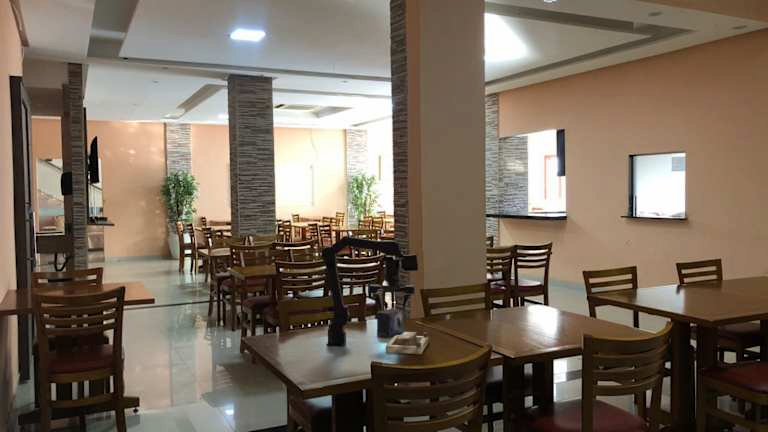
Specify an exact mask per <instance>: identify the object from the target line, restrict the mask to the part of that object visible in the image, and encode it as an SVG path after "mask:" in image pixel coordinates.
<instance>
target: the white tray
mask: <svg viewBox="0 0 768 432" xmlns="http://www.w3.org/2000/svg"><path fill="white" fill-rule="evenodd" d="M428 333H429V332H426V331H425V332H423V335H416V345H415V346H402V345H398V343H397V338H398V337H399V336H400V335H395V336H393V337H392V338H391V340H389V342H387V344H386V346H385V353H386V354H390V353H392V354H395V353H396V354H414V355H423V352H424V350H425V349H426V348H427V346H428V344H429V336H428Z"/></svg>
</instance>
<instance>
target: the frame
mask: <svg viewBox="0 0 768 432" xmlns="http://www.w3.org/2000/svg"><path fill="white" fill-rule="evenodd" d="M416 336H417V331H402V334H400V335H399V337H398V338H397V345H402V346H417V343H416Z"/></svg>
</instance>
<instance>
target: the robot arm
mask: <svg viewBox="0 0 768 432" xmlns="http://www.w3.org/2000/svg"><path fill="white" fill-rule="evenodd" d="M346 247H352V248H353V247H354V248H361V249H366V250H372V251H377V252H378V253H379V252H380V253H382V254H383V255H382V257H380V259H379V260H380V262H384V280H383V282H382V285H381V284H371V285H369V286H368V292H367V293H368V294H371V296H374V297H375V299H376V302H377V304H378V306H379V310H380V311H383V294H382V292H383V293H391V294H394V293H396V292H400V293H401V292H402V293H403V292H404V294H403V303H402V306H403V307H402V312H405V310H406V307H407V304H408V302H409V299H410V297H411V296H413V295H415V294H416V293H417V286H416V285H415V284H406V285H405V286H401V280H400V270H403V272H418V271H419V263H418V257H417V256H418V255H417V254H413V253H412V254H404V253H403V252H402V251H400V245H399V244H398V242H397V241H395V240H392V239H390V240H387V239H386V240H385V239H384V240H383V239H382V240H373V239H367V238H361V237H354V236H350V235H343V236H342V237H341V238H340V239H338V240H337V241H336V242H334V243H333V244H331V245H326V246H325V247H323V249H322V250H321V252H320V253H321V255H320V256H321V257H322V261H323V263H324V266H325V268H326V271H327V276H328V281H329V282H328V283H329V287H330V292H331V296H332V297H331V298H332V301H333V302H332V303H333V318H331V320H330V321H329V322H328V325H327V326H328V329H327V343H326V346H338V347H343V346H344V345H345V344H346V343H347V332H346V330H345V328H346V327H344V326H346V325H347V323H348V322H349V318H350V315H351V314H350V312H349V305H348V304H346V305H345V304H344V301H343V296H342V291H341V286H340V281H339V275H338V274H339V273H338V270H337V254H339V253H340V252H341V251H342V250H344V249H345V248H346ZM386 255H388V256H386ZM394 257H396V258H394Z"/></svg>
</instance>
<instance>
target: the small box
mask: <svg viewBox="0 0 768 432" xmlns="http://www.w3.org/2000/svg"><path fill="white" fill-rule="evenodd" d="M402 333H403V309H396V308H388V309H384V310H383V309H382V310H379V311H377V312H376V337H381V338H386V339H390V338H393V337H394V336H395V335H399V336H400V335H401V334H402Z"/></svg>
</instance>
